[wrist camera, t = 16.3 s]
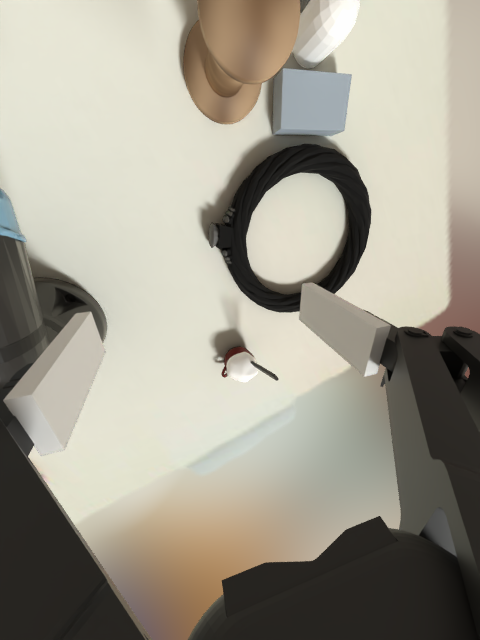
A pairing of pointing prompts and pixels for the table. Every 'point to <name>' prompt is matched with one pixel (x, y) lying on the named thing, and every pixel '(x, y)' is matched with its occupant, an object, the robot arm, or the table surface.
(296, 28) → the knob
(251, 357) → the cocoa
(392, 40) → the table surface
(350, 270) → the cable lock
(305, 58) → the capsule
